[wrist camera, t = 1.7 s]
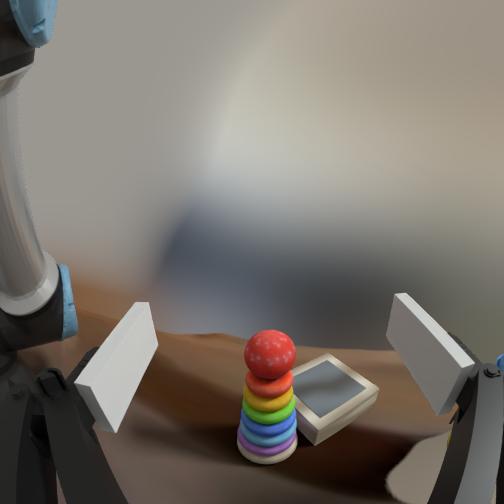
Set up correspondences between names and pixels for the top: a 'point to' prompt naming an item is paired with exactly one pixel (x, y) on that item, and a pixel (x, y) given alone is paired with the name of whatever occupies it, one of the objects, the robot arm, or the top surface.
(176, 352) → the top surface
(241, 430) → the stacking toy
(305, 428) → the plinth
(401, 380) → the top surface
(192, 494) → the top surface
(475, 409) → the robot arm
